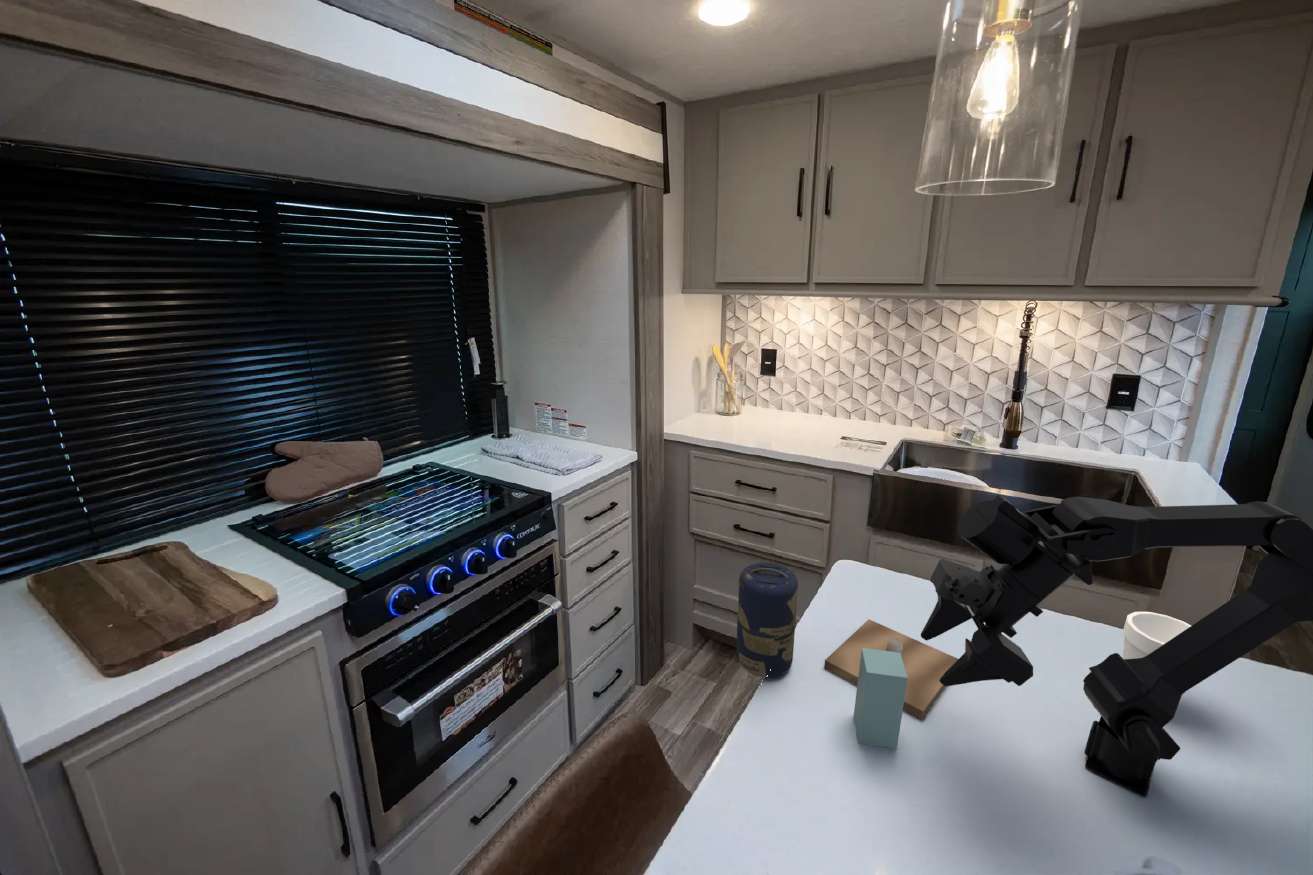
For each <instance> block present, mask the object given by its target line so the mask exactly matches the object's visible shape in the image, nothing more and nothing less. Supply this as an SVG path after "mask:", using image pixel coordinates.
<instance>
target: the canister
mask: <svg viewBox="0 0 1313 875" xmlns="http://www.w3.org/2000/svg"><path fill="white" fill-rule="evenodd" d="M798 591H799V582H798V578H797V576H796V574H795V573H794V572H793V571H792V570H791V569H789V568H788V567H786V566H784V565H781V564H779V563H778V564H777V563H772V562H758V563H753V564H750V565H748V566H746V567H745V568H744V569H743V570H741V572H740V574H739V577H738V598H737V599H738V600H737V601H738V602H737V603H738V604H737V608H738V609H737V618H736V619H737V620H736V623H737V624H736V651H735V652H736V659H737V661H738V663H739V665H740V666H741V668H742V669H744V670H745V671H746V672H748V673H750V674H752V675H753V676H757V677H761V678H775V677H779V676H781V675H784V674H785V673H787V671H789V670H790V669H791V667H792V665H793V660H794V649H795V648H794V647H795V634H796V633H795V632H796V624H797V609H798V594H799V592H798ZM770 669H771V671H770ZM767 675H768V677H766V676H767Z"/></svg>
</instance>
